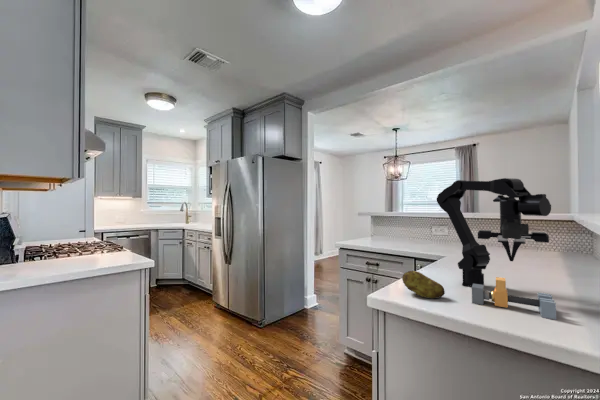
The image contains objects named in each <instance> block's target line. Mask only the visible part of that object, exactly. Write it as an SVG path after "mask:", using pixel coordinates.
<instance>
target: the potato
mask: <svg viewBox="0 0 600 400" xmlns="http://www.w3.org/2000/svg"><path fill="white" fill-rule="evenodd" d="M401 278H402V282H403V284H404V286H405V287H406V289H408V290H409V291H411V292H413V293H414V294H416V295H417V296H419V297H422V298H426V299H439V298H441V297H443V296H444V295H445V293H446V290H445V287H443V285H442V284H440V283H439V282H437V281H435V280H433V279H432V278H430V277H428V276H426V275H425V274H423V273H421V272H419V271H415V270H409V271H406V272H405V273H403V275H402V277H401Z"/></svg>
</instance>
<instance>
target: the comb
mask: <svg viewBox="0 0 600 400" xmlns="http://www.w3.org/2000/svg"><path fill="white" fill-rule="evenodd" d="M537 299H538V300H540V307H537V309H538V311H539V314H540V317H541V318H545V319H548V320H549V319H550V320H555V321H557V305H556V304H557V303H556V301H555V299H553V296H552V294H551V293H544V292H540V291H539V292H537Z"/></svg>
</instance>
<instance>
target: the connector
mask: <svg viewBox="0 0 600 400" xmlns="http://www.w3.org/2000/svg"><path fill="white" fill-rule="evenodd" d="M489 292H490V290H485V284H484V285H481V284H473V285H472V287H471V303H472V304H475V305H476V304H477V305H481V306H482V305H483V306H484V303H485V300H486V301H490V299H489Z"/></svg>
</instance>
